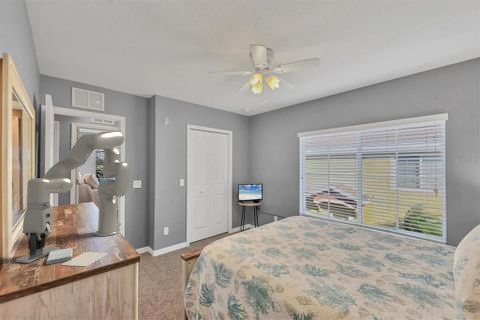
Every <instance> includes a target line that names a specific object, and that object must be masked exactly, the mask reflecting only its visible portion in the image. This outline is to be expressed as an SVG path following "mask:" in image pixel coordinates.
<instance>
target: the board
mask: <svg viewBox="0 0 480 320" xmlns="http://www.w3.org/2000/svg"><path fill="white" fill-rule="evenodd" d="M107 255H109V252H96V251H95V252H93V251H92V252H91V251H85V252H83V253H81V254H79V255H77V256H75V257H74V258H73V257H72V260H69V261H64V262H62V263H61V264H60V266H70V267H82V268H83V267H84V268H86V267H88V266H90V265H92V264H93V263H95V262H97V261H98V260H101V259H102V258H103V257H105V256H107Z"/></svg>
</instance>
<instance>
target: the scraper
mask: <svg viewBox="0 0 480 320" xmlns="http://www.w3.org/2000/svg"><path fill="white" fill-rule="evenodd" d="M42 235H43V234H41V236H42ZM37 240H38V233H37V234H33V235H30V249H29V254H26V255H24V256H20V257H18V258H16V259H15V260H14V262H15V263H27V264H29V263H32V262H33V261H36V260H39V259H41V258H43V257H45V256H49V253H50V252H51V251H55V250H61V247H58V246H57V247H56V246H47V247H44V248H41V249H38V250H37V249H36V243H37Z"/></svg>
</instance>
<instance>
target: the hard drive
mask: <svg viewBox="0 0 480 320" xmlns="http://www.w3.org/2000/svg"><path fill="white" fill-rule="evenodd" d="M73 248H74V247H68V248H60V250H55V251H51V252H50V253H49V254H48V255H47V258H46V262H45V264H46V265H52V264H57V263H65V262H67V261H69V260H72V259H73V253H74V252H73Z"/></svg>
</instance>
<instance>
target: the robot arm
mask: <svg viewBox="0 0 480 320" xmlns="http://www.w3.org/2000/svg"><path fill="white" fill-rule="evenodd" d="M124 142H125V136H124V134H123V133H122V132H120V131H119V130H118V131H117V130H114V131H113V130H112V131H100V132H98V133H87V134H82V135H81V136H80V137H79V138H78V139H77V141H76V142H75V143H74V145H73V146H72V147H71V148H70V150H69V152H68V153H67V155H66V156H64V157H63V158H61V159H60V160H59V161H57V162H56V163H55V164H53V165H52V166H51V167H50V168H49V169H47V172H45V174H44V175H43V177H40V178H36V177H33V178H30V179H28V181H27V188H26V209H25V212H24V214H23V215H24V217H23V222H22V223H23V224H22V228H23V229H22V234H24V235H25V236H26V238H27V240H28V246H27V247H28V250H30V235H33V234H37V233H38V240H37V243H36V249H37V250H38V249H41V248H43V249H44V248H46V247H45V245H46V244H45V243H46V239H47V237H48V236H49V235H51V234H52V233H53V231H52V230H53V228H54V220H53V211H52V208H50V207H51V204H50V202H51V200H50V199H51V194H65V193H68V192H69V191H71V190H72V189H73V181H72V180H71V179H69V178H68V177H65V176H66V175H67V174H68V173H70V172H71V171H74V170H75V169H78V168H81V167H82V166H83V165H85V164H86V162H87V161H88V160H89V158H90V156H91V155H92V154H93V152H94V150H96V151H99V150H102V151H103V154H104V155H103V156H104V157H103V166H102V174H103V176H104V177H107V178H114V179H104V180H102V181H100V182H99V183H98V185H97V194H98V195H97V196H98V221H97V223H98V224H97V230H96V231H94V235H95V236H97V237H108V236H114V235H116V234H119V233H120V231H121V230H120V229H119V228H118V227H120V226H121V225H122V223H121V222H118V210H119V209H118V205H119V204H118V203H119V202H118V198H117V197H121V198H122V197H123V196H125V195H127V193H128V192H129V190H130V181H131V168H130V165H129V164H128V163H127V162H126V161H121V150H120V148H119V147H120V146H121V145H122V144H124ZM117 230H118V231H119V233H118V231H117ZM41 234H43V235H42V236H41Z"/></svg>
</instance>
